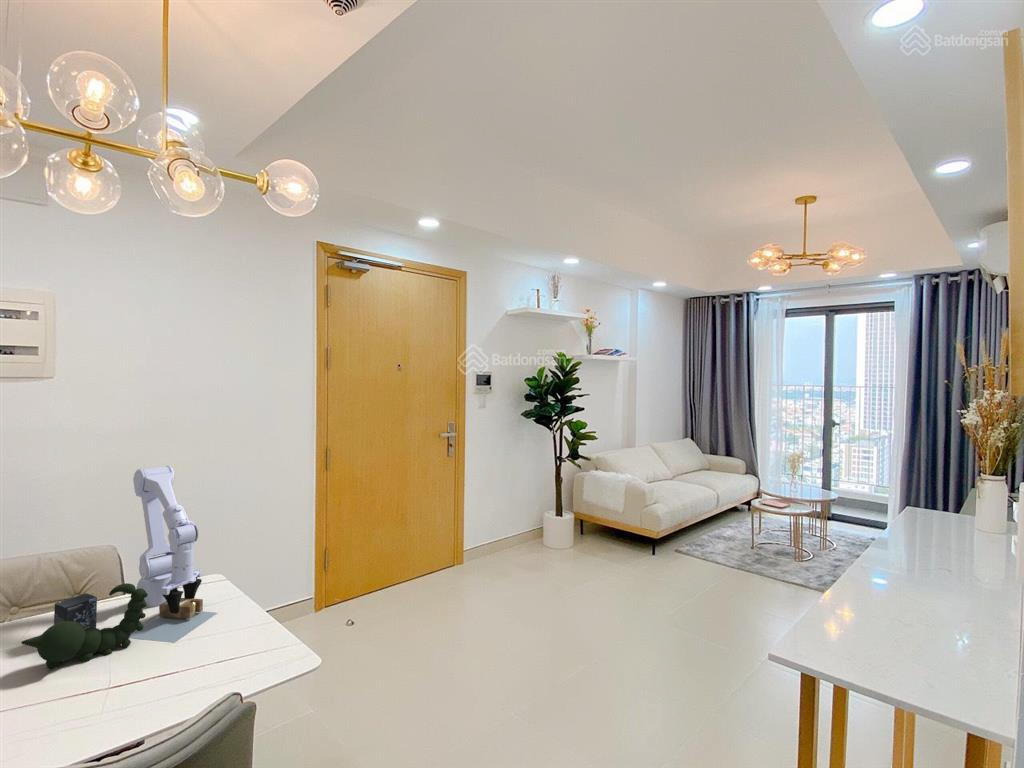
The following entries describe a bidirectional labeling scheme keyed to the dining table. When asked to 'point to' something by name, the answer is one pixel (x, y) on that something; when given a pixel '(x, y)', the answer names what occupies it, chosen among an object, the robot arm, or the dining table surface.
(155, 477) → the robot arm
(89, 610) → the box
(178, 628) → the board
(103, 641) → the toy figurine
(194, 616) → the peg
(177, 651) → the dining table surface
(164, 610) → the wooden holder
